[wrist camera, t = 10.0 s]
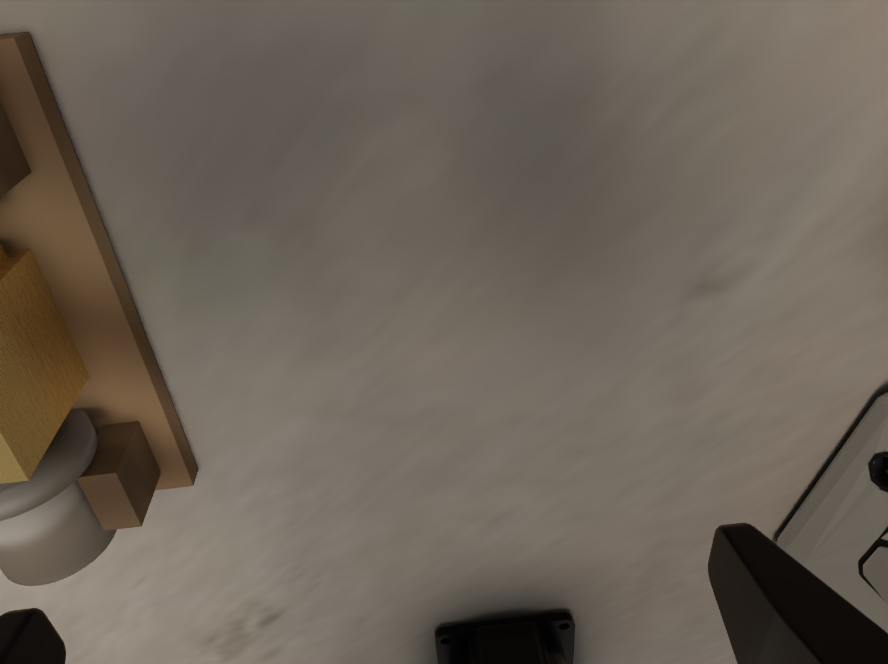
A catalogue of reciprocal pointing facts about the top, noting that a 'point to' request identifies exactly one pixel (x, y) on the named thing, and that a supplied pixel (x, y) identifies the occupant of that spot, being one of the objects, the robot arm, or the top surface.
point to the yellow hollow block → (32, 366)
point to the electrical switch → (849, 519)
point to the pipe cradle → (97, 340)
